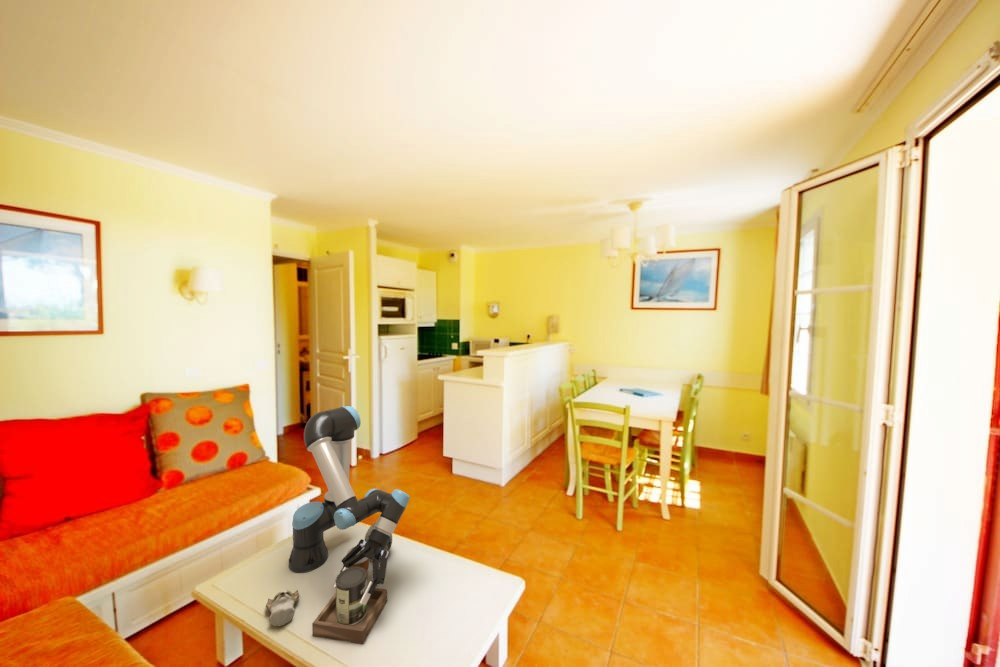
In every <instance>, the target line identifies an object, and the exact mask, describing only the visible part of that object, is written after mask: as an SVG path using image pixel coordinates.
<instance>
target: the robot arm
mask: <svg viewBox="0 0 1000 667" xmlns="http://www.w3.org/2000/svg"><path fill="white" fill-rule="evenodd" d="M360 427H361V417H360V414H359V412H358V411H357V409H356V408H355V407H354V406H351V405H349V406H348V405H347V406H340V407H336V408H332V409H328V410H324V411H323V410H322V411H319V412H317V413H314V414H313V415H312V416H311V417H310V418H309V419H308V421H307V422H306V424H305V427H304V429H303V430H304V431H303V441H304V445H305V447H306V450H307V451H308V452H311V453H312V456H313V459H314V461H315V463H316V465H317V467H318V469H319V471H320V473H321V474H320V475H321V476H322V478H323V481H324V482H325V485H326V488H327V489H328V490H327V491H326V492H325V493H324V497H323V498H324V500H323V502H320V501H316V500H315V501H311V502H307V503H304V504H302V505H300V507H298V508H297V509H296V510H295V512H294V513H293V516H292V525H291V527H292V549H291V551H290V554H289V559H288V569H289V570H290V571H291V572H294V573H301V574H302V573H307V572H311V571H313V570H316V569H318V568H319V567H321V566H323V565H324V563H325V562H326V561H327V560H328V558H329V550H328V549H329V548H328V547H327V545H326V542H325V540H324V532H326V531H328V530H330V529H331V528H334V527H336V528H337V529H338V530H341V531H344V530H346V529H349V528H351V527H353V526H355V525H356V524H358V523H360V522H362V521H364V520H366V519H368V518H370V517H371V516H373V515H375V514H377V513H381V514H379V517H378V519H377V521H376V522H375V523H376V524H375V526H374V527H375V529H373V530H372V532H371V534H370V535H369V539H368V541H367V542H366V541H365V539H363V538H360V540H359V542H358V543H357V544H356V545H355V547H354V546H353V547H354V548H353V549H352V550H351V551H350V552H349V553H348V552H347V553H348V554H347V553H346V555H345V556H344V557H343V558H341V563H342V564H343V566H342V568H341V570H340V572H339V573H338V575H339V574H340V573H341V572H342V571H344V570H345V569H348V568H350V566H352V565H353V564H355V563H356V562H358V561H359V560H361V559H362V558H364V557H366V558H368V559H369V561H371V563H372V567H371V568H372V580H370V581H369V583H368V584H367V589H366V591H365V593H364V595H363V597H362V599H361V601H360V603H361V604H364V605H366V603H367V601H368V599H369V597H370V595H371V594H373V593H374V591H375V589H376V588H378V587H377V586H378V585H383V584H384V583H385V579H386V578H385V577H386V570H387V566H388V565H387V564H388V560H389V557H390V554H391V553H390V552H389V551H386V550H385V551H384V548H385V547H386V546H387V544H388V542H389V540H390V535H392V536H393V533H394V532H395V529H396V528H397V526H398V523H399V521H400V519H401V517H403V514H404V512H405V510H406V508H407V506H408V504H409V501H410V500H411V498H410V497H411V496H410V495H409V494H408V493H406V492H404V491H403V490H400V489H398V488H396V489H394V490H393V491H392V492H391V493H390V492H387V491H384V490H382V489H377V488H371V489H369V490H368V491H367V492H366V493H365V495H364V497H362V498H360V499H358V497H357V496H356V494H355V492H354V490H353V487H352V486H351V483H350V464H351V463H350V462H351V442H352V440H353V439H354V437H355V431H357V430H359V428H360ZM363 547H364V549H363V550H361V549H362V548H363ZM360 550H361V551H360ZM359 551H360V552H359ZM358 552H359V553H358ZM357 553H358V554H357ZM356 554H357V555H356ZM380 555H381V558H380ZM333 588H334V589H336V583H334V585H333Z"/></svg>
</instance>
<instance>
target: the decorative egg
mask: <svg viewBox="0 0 1000 667" xmlns="http://www.w3.org/2000/svg"><path fill="white" fill-rule="evenodd" d="M375 524H376V522H373V523H372V524H371V526H369V528H368V529H367V530H366V533H365V536H364V540H365V541H366V542H367V541H368V539H369V535H370V534H371V532H372V530H373V529H375V527H374V526H375ZM392 544H393V534H392V535H390V540H389V542H388V544H387V546H386V547H385V548H384V551H385V550H386V551H388V552H389V551H390V550H391V547H392ZM380 559H381V555H380Z"/></svg>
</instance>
